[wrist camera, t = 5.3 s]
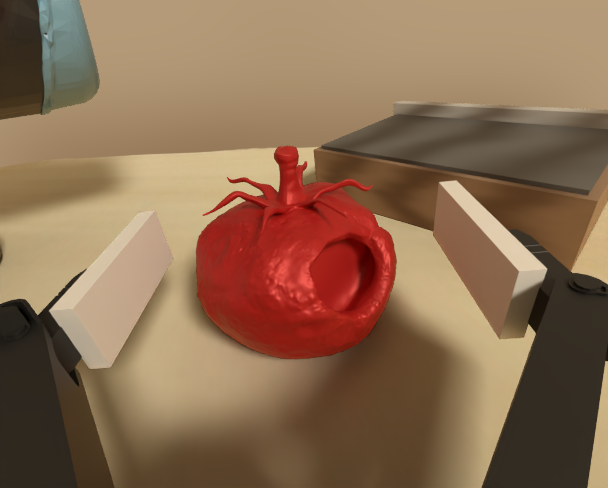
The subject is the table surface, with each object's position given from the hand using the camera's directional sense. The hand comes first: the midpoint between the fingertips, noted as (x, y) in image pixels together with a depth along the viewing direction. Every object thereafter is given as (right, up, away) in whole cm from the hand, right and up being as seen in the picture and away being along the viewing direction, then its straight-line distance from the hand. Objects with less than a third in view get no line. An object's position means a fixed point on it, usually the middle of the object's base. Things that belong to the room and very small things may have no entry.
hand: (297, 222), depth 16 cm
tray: (+14, +4, +14) cm, 20 cm away
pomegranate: (0, -5, +3) cm, 6 cm away
